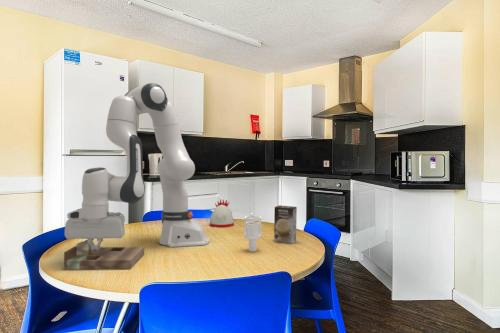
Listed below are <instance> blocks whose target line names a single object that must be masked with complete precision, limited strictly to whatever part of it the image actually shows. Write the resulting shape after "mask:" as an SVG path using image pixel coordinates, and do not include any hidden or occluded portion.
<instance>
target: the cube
mask: <svg viewBox="0 0 500 333" xmlns="http://www.w3.org/2000/svg"><path fill="white" fill-rule="evenodd" d="M75 246H76V253H77V255H89V254H91V253H92V251H91V246H90V245H89V243H88V242H84V241H80V242H78V243H76V244H75Z"/></svg>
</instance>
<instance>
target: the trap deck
mask: <svg viewBox="0 0 500 333" xmlns="http://www.w3.org/2000/svg"><path fill="white" fill-rule="evenodd" d="M83 242H88V239H86V240H84V241H83ZM144 255H145V246H114V247H113V246H110V247H109V246H108V247H107V246H106V247H105V246H103V247H101V246H100V250H99V251H92V253H91V254H89V255H77V253H76V245H75V246H73V247H71V248H69V249H67V250H65V251H64V252H63V270H64V271H79V270H80V271H81V270H82V271H84V270H85V271H87V270H88V271H89V270H91V271H92V270H94V271H95V270H97V271H98V270H132V268H133V267H134V266H135V265H136V264H137V263H138V262H139V261H140V260H141V259H142V258H143V256H144Z"/></svg>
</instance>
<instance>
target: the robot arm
mask: <svg viewBox="0 0 500 333" xmlns="http://www.w3.org/2000/svg"><path fill="white" fill-rule="evenodd" d="M141 114H148V115H149V116H150V118H151V121H152V126H153V127H152V128H153V131H154V135H155V139H156V144H157V148H159V150H160V151H161V152H160V153H161V154H162V157H163V158H162V159H161V160H159V162H158V164H157V172H158V174H159V179H160V185H161V190H162V211H161V224H162V225H161V233H160V234H161V235H160V238H159V242H158V243H159V244H160V245H163V246H167V247H170V248H175V247H176V248H177V247H193V246H195V247H196V246H197V247H198V246H206V245H208V244H209V243H210V237H209V236H207V235H206V234H205V229H204V226H203V225H201V224H200V223H198V222H197V221H196V220H195V219H193V216H194V214H193V212H192V211H190V210H189V206H188V205H189V193H188V191H187V189H186V185H185V181H186V180H189V179H191V178H192V177H193V176H194V174H195V171H196V167H195V163H194V161H193V160H192V159H191V158H190V155H189V153H188V151H187V149H186V147H185V144H184V141H183V138H182V134H181V129H180V124H179V119H178V115H177V113H176V110H175V108H174V106H173V104H172V103H171V102H170V101H168V97H167V94H166V91H165V89H164V88H163V87H162V86H161V85H159V84H158V83H155V82H153V83H152V82H150V83H146V84H143V85H139V86H137V87H135V88H133V89H132V90H129V91H128V92H126V93H125V94H124V95H117V96H115V97H114V98H113V99H112V102H111V104H110V106H109V109H108V114H107V120H106V127H105V133H106V134H105V135H106V137H107V138H108V140H109V141H110V142H111V143H113V145H116V146H118V147H120V148H121V149H123V150H124V152H125V153H126V172H127V173H126V175H125V176H118V175H114V174H112V173H110V172H109V171H108V170H107V168H106V167H93V168H88V169H86V170H85V171H84V173H83V175H82V180H81V196H82V202H81V208H78V209H75V210H72V211H70V212H68V213H67V214H66V217H67V218H68V219H67V220H66V222H65V226H64V237H65V239H66V240H67V239H68V240H74V239H75V240H77V239H78V240H81V239H86V240H88V243H89V245H90V246H91V251H99V250H100V247H101V244H102V242H103V241H104V239H122V238H123V237H124V236H125V234H126V231H125V230H126V229H125V222H126V220H125V219H126V218H125V215H124V214H123V213H121V212H120V211H119V212H113V211H111V212H109V210H110V209H109V208H110V207H109V205H110V204H109V202H116V203H117V202H119V203H121V202H122V203H125V204H126V203H127V204H137V203H138V202H139V201H140V200H142V199H143V196H145V192H146V186H145V181H144V168H143V167H144V166H143V165H144V164H143V163H144V162H143V145H142V141H141V138H140V137H139V136H138V133H137V125H138V124H137V122H138V117H139V115H141ZM94 240H96V241H97V244H95V242H94Z"/></svg>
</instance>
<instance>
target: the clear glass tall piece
mask: <svg viewBox="0 0 500 333" xmlns="http://www.w3.org/2000/svg"><path fill="white" fill-rule="evenodd" d="M243 217H244V218H243V231H244V232H243V238H245V239H247V240H248V251H249V252H256V251H257V240H258V239H261V238H262V216H261V215H260V216H259V215H254V213H251V212H249V215H246V216H243Z"/></svg>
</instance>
